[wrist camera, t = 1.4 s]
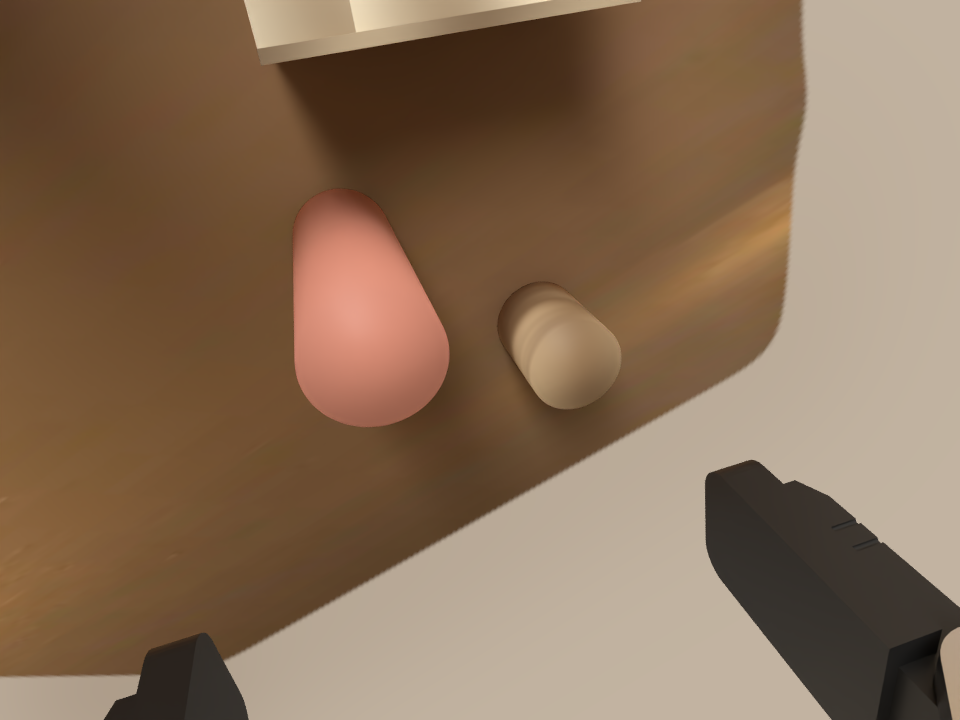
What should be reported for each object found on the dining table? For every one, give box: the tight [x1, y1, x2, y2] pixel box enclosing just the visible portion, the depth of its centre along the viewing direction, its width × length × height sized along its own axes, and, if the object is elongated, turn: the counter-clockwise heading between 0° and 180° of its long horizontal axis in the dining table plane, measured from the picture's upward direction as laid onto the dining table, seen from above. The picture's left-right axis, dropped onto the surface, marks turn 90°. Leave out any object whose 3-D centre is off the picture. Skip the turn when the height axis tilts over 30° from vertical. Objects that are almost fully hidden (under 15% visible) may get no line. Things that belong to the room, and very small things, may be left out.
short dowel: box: [497, 282, 621, 409], centre depth 30 cm, size 4×4×5 cm
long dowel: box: [293, 189, 449, 427], centre depth 23 cm, size 4×4×12 cm
